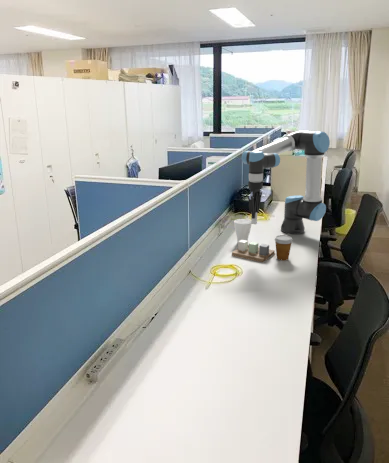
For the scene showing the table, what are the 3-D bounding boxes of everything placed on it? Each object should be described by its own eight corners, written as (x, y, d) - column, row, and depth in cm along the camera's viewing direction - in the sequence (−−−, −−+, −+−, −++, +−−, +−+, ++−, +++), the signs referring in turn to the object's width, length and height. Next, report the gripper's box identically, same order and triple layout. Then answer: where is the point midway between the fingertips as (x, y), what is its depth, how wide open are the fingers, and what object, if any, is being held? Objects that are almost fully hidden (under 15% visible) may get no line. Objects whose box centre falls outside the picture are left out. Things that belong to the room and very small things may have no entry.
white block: (241, 247, 235) (241, 239, 234) (247, 249, 233) (248, 240, 232) (238, 249, 232) (238, 241, 231) (244, 251, 230) (244, 242, 228)
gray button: (262, 252, 228) (262, 243, 227) (268, 253, 226) (269, 245, 225) (259, 254, 225) (259, 245, 224) (265, 255, 223) (266, 247, 221)
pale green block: (251, 249, 232) (252, 241, 230) (258, 251, 230) (258, 242, 228) (248, 252, 229) (248, 243, 227) (255, 253, 227) (255, 245, 225)
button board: (244, 247, 241) (244, 244, 240) (274, 253, 231) (274, 250, 230) (231, 255, 229) (231, 252, 228) (263, 262, 219) (263, 259, 218)
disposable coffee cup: (290, 255, 228) (291, 234, 224) (292, 261, 219) (293, 240, 215) (272, 255, 229) (273, 234, 225) (274, 261, 220) (275, 240, 216)
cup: (250, 239, 253) (251, 218, 249) (251, 245, 243) (252, 224, 239) (233, 239, 254) (234, 218, 250) (233, 245, 244) (234, 223, 240)
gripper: (254, 178, 224) (253, 219, 231) (243, 182, 214) (242, 225, 221) (267, 179, 220) (265, 221, 227) (256, 183, 210) (254, 227, 217)
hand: (254, 223), depth 224 cm, fingers closed
